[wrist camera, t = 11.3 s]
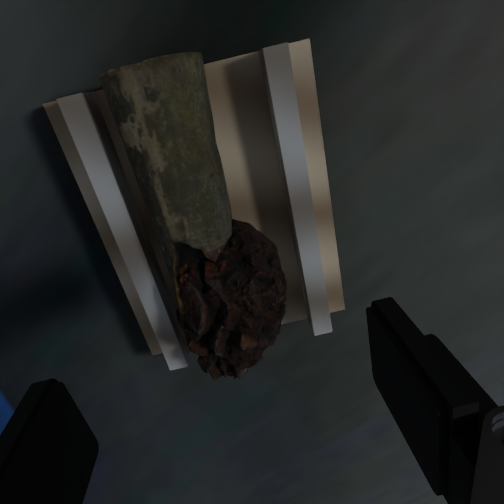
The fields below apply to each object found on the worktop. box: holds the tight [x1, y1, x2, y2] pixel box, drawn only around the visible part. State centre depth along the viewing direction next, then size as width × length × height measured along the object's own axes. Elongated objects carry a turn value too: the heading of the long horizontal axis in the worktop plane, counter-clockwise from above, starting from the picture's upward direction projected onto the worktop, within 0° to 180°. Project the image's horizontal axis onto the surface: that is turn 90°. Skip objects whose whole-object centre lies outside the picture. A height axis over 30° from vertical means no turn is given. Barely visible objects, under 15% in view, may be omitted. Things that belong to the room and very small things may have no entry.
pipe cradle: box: [43, 39, 345, 371], centre depth 22 cm, size 17×14×3 cm
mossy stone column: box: [99, 52, 287, 380], centre depth 20 cm, size 18×7×6 cm, turn 11°
